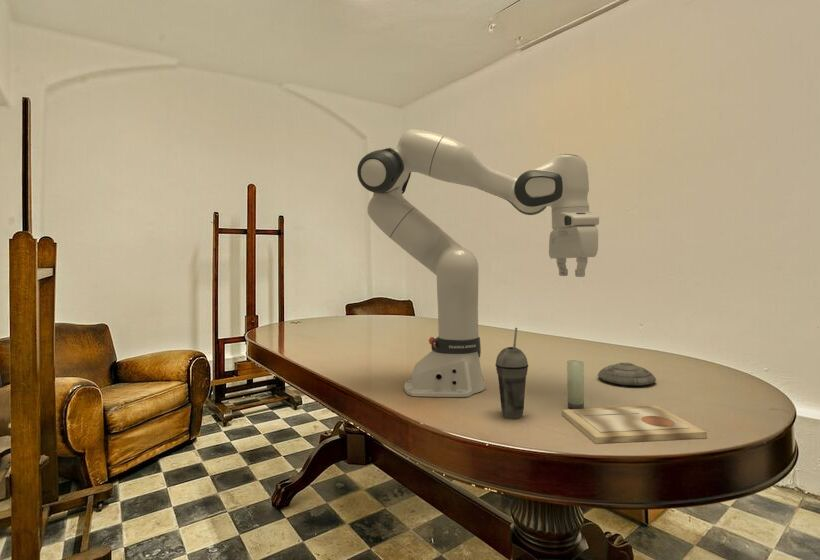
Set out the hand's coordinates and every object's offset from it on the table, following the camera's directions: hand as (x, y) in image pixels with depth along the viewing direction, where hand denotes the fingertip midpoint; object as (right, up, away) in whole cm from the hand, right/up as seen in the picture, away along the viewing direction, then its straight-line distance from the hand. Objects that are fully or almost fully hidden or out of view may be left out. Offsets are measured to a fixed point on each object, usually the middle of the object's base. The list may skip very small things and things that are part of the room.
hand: (571, 276), depth 111 cm
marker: (-1, -31, -7) cm, 32 cm away
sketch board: (+5, -31, -18) cm, 37 cm away
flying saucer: (+21, -30, +16) cm, 40 cm away
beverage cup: (-17, -32, -11) cm, 38 cm away
